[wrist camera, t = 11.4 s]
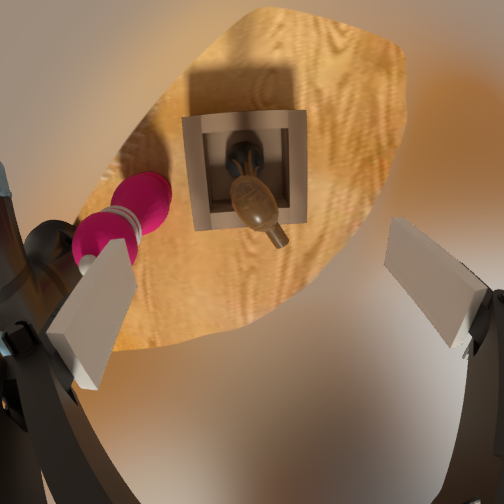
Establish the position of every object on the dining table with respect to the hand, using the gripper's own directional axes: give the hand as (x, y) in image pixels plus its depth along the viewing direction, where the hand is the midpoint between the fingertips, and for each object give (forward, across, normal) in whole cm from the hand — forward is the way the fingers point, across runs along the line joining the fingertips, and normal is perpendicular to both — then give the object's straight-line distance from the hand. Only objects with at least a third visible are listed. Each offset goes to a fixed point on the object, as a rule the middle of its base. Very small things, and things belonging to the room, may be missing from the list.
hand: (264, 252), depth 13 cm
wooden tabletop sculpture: (+24, +1, 0) cm, 24 cm away
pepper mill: (+25, -12, -3) cm, 28 cm away
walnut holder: (+25, 0, 0) cm, 25 cm away
